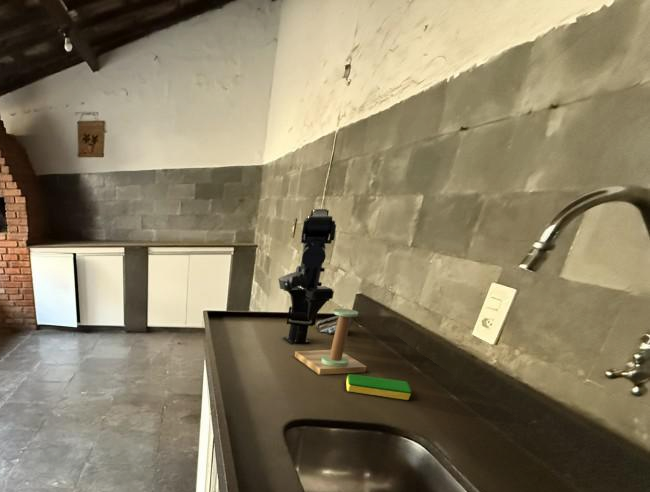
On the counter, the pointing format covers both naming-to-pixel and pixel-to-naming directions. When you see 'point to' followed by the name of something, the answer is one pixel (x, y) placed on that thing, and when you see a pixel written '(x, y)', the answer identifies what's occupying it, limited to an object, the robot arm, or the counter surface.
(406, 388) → the dish sponge
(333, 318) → the grey streaked wedge
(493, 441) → the counter surface
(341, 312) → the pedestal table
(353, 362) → the birch platform
